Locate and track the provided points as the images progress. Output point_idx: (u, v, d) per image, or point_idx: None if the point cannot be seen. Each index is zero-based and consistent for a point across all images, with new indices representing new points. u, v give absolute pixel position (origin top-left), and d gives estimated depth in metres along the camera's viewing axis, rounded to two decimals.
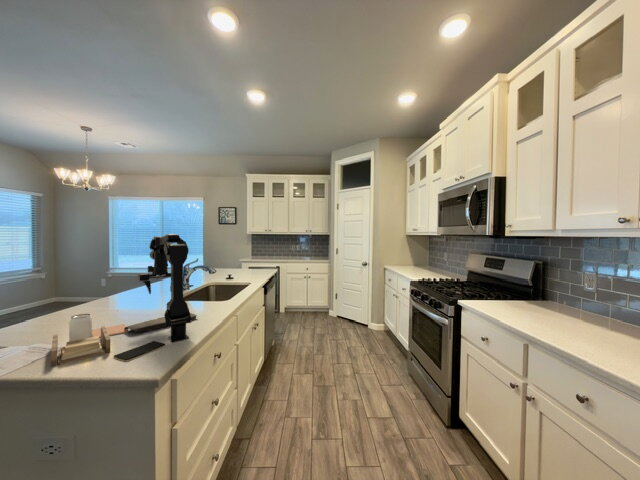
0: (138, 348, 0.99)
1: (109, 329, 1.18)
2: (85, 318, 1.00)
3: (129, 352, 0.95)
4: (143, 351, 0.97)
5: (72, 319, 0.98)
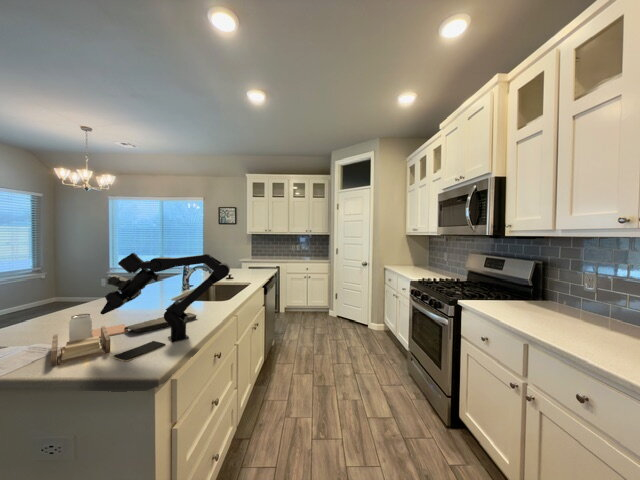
0: (138, 348, 0.99)
1: (109, 329, 1.18)
2: (85, 318, 1.00)
3: (129, 352, 0.95)
4: (143, 351, 0.97)
5: (72, 319, 0.98)
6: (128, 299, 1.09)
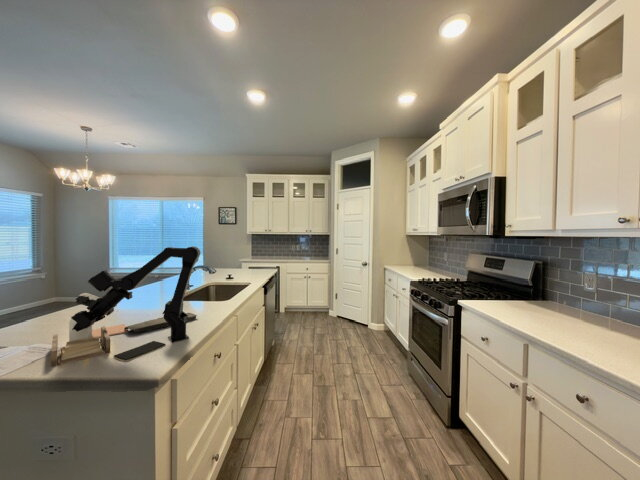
0: (138, 348, 0.99)
1: (109, 329, 1.18)
2: None
3: (129, 352, 0.95)
4: (143, 351, 0.97)
5: (72, 319, 0.98)
6: (96, 319, 1.05)
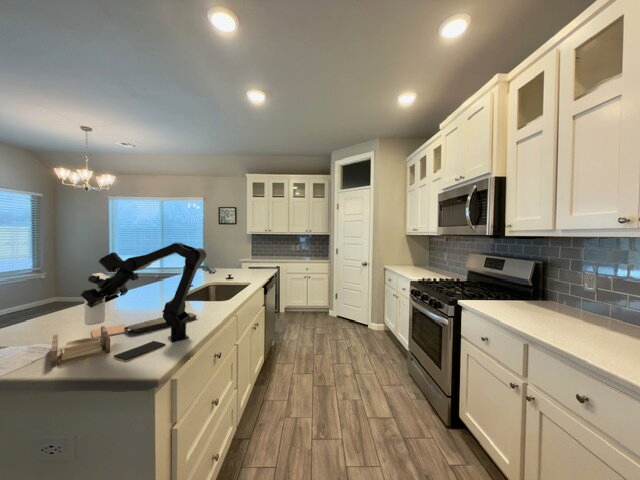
0: (138, 348, 0.99)
1: (109, 329, 1.18)
2: None
3: (129, 352, 0.95)
4: (143, 351, 0.97)
5: None
6: (110, 298, 1.12)
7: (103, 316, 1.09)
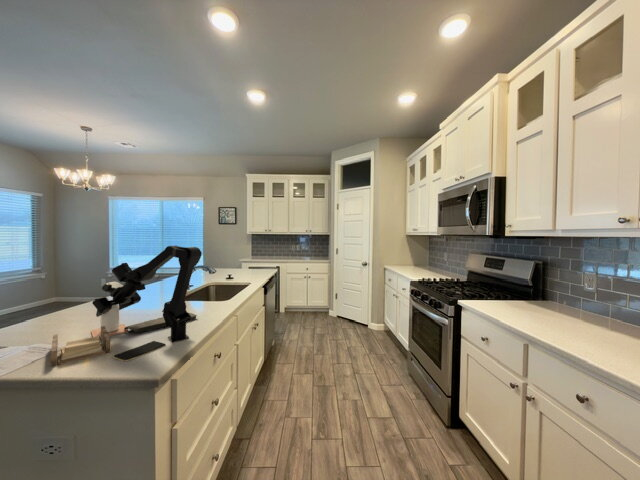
0: (138, 348, 0.99)
1: None
2: None
3: (129, 352, 0.95)
4: (143, 351, 0.97)
5: None
6: (127, 304, 1.20)
7: (116, 325, 1.16)
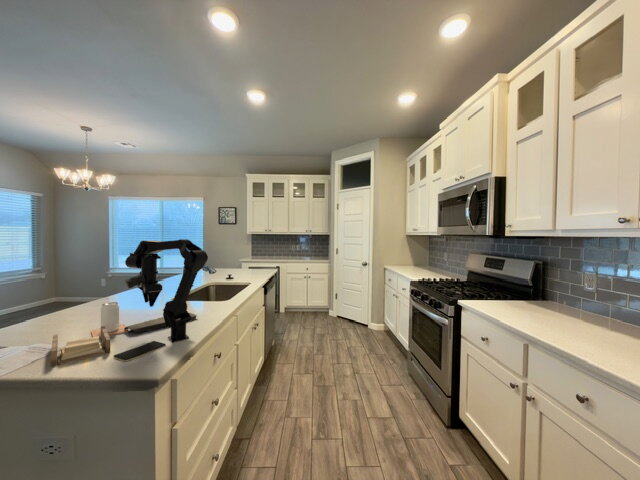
0: (138, 348, 0.99)
1: None
2: (110, 307, 1.14)
3: (129, 352, 0.95)
4: (143, 351, 0.97)
5: (102, 306, 1.14)
6: None
7: (116, 325, 1.16)
